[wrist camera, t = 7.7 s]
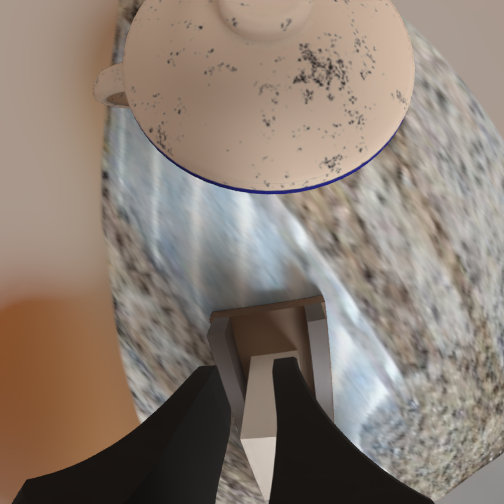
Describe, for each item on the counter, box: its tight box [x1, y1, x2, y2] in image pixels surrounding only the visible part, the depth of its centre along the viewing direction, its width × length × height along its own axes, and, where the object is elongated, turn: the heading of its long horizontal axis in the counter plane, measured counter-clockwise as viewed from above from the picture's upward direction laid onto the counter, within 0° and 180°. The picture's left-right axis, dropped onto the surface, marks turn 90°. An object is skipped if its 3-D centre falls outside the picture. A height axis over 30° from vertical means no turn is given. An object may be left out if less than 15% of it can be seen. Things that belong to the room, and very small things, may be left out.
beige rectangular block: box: [240, 350, 301, 500], centre depth 16 cm, size 3×7×7 cm, turn 11°
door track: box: [207, 295, 334, 436], centre depth 19 cm, size 16×7×4 cm, turn 11°
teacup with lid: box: [93, 0, 415, 194], centre depth 10 cm, size 12×9×12 cm
